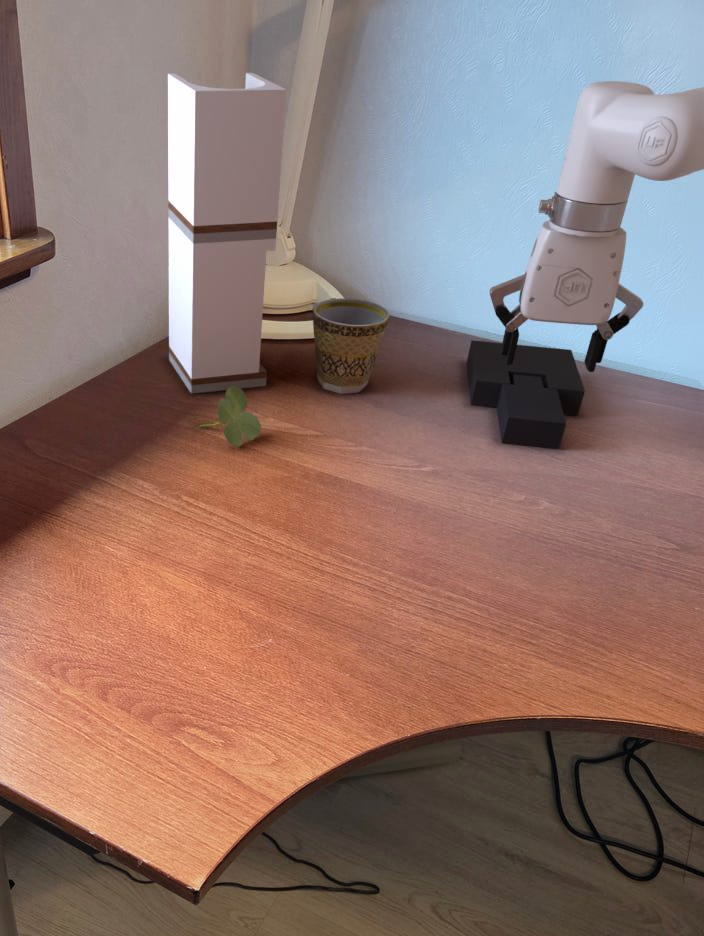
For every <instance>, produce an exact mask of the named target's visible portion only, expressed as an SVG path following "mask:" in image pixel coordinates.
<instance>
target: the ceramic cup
mask: <svg viewBox="0 0 704 936" xmlns="http://www.w3.org/2000/svg"><path fill="white" fill-rule="evenodd" d="M389 319H390V313H389V311H388V310H387V309H386V308H385V307H383V306H381V305H379V304H378V303H375V302H373V301H368V300H365V299H358V298H347V297H345V298H344V297H341V298H335V297H332V298H330V299H326V300H323V301H320V302H318V303H316V304H315V305H314V306H313V308H312V327H313V337H314V338H313V339H314V349H315V361H316V362H315V363H316V375H317V377H316V378H317V381H318V383H319V384H320V385H321V387H322V388H323V389H324V390H327V391H329V392H332V393H333V392H334V393H336V394H341V395H342V394H343V395H345V394H346V395H347V394H358V393H360V392H361V391H362V390H363V389H365V387H367V385H368V383H369V380H370V379H371V378H370V377H371V374H372V371H373V368H374V365H375V362H376V359H377V356H378V353H379V350H380V347H381V344H382V341H383V339H384V336H385V333H386V330H387V326H388V323H389Z"/></svg>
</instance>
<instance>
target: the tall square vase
mask: <svg viewBox="0 0 704 936" xmlns="http://www.w3.org/2000/svg"><path fill="white" fill-rule="evenodd" d="M286 101H287V89H286V88H284V87H283V86H280V85H278V84H276V83H274V82H272V81H270V80H269V79H266V78H264V77H262V76H261V75H258V74H256V73H254V72H245V86H244V88H220V87H210V86H203V85H198V84H194V83H191V82H189V81H188V80H186V79H184V78H183V77H182V76H180V75H178V74H177V73H167V137H168V138H167V145H168V146H167V153H168V154H167V164H168V165H167V166H168V167H167V174H168V175H167V176H168V177H167V178H168V180H167V181H168V183H167V184H168V185H167V186H168V187H167V190H168V191H167V192H168V200H167V201H168V203H167V204H168V212H167V213H168V361H169V363H170V364H171V365H172V367H173V368H174V370H175V372H176V373H177V375H178V376H179V377H180V379H181V381H182V382H183V383H184V385H185V387H186V388H187V389H188V391H189V392H190V394H201V393H202V394H203V393H212V392H221V391H227V390H228V389H229V388H230V387H233V386H237V387H239V388H241V389H250V388H260V387H266V386H267V376H268V371H267V370H266V368H265V367H264V366H263V365H262V364H261V362H260V359H261V357H260V356H261V344H262V329H263V313H264V295H265V284H266V283H265V281H266V266H267V265H266V264H267V252H270V251H272V252H273V251H276V248H277V231H278V219H279V216H278V215H279V202H280V190H281V189H280V188H281V175H282V158H283V145H284V133H285V131H284V129H285V119H286V118H285V117H286Z"/></svg>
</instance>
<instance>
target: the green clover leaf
mask: <svg viewBox="0 0 704 936" xmlns="http://www.w3.org/2000/svg"><path fill="white" fill-rule="evenodd" d="M247 406H248V399H247V396H246V394H245V392H244V390H243V388H239V387H237V386H233V387H230V388H229V389H228V390H225V398H223V397H220V399H219V401H218V404H217V417H218V420H219V421H218V422H215V423H212V424H210V423H209V424H201V425H199V428H203V427H214V426H218V425H221V424H222V425H225V426H224V428H223V434H224V438H225V439H226V440H227V442H228V443H229V444H230V445H232V446H234V447H237V448H239V447H241V446H242V445H243V440H244V439H243V436H244V437H245V438H246V440H248V441H254V440H255V438H258V437H259V436H260V433H261V429H262V423H261V422H260V419H259V418H258V417H257V416H256V415H254V414H253V413H250V412H247V411H246V412H245V410H246V409H247V408H248V407H247ZM242 434H243V435H242Z"/></svg>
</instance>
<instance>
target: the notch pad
mask: <svg viewBox="0 0 704 936" xmlns="http://www.w3.org/2000/svg"><path fill="white" fill-rule="evenodd" d="M501 347H502V342H492V341H483V340H470V344H469V351H468V355H467V358H466V362H465V363H466V373H467V383H468V392H469V393H468V394H469V402H470V406H477V407H479V406H480V407H488V408H489V407H490V408H496V409H497V404H498V400H499V396H500V392H501V388H502V384H511V383H512V379H513V375H514V374H515V375H525V376H535V377H541V379H542V383H543V387H544V388H550V389H557V391H558V395H559V398H560V402H561V405H562V409H563V413H564V416H574V417H575V416H576V417H577V416H578V415H579V412H580V408H581V405H582V402H583V399H584V396H585V393H586V389H585V387H584V383H583V381H582V378H581V375H580V372H579V369H578V365H577V363H576V360H575V356H574V353H573V350H572V349H567V348H555V347H544V346H534V345H527V344H526V345H523V344H517V347H516V351H515V355H514V360H513V364H511V365H506V362H505V355H501ZM578 417H579V416H578Z"/></svg>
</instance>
